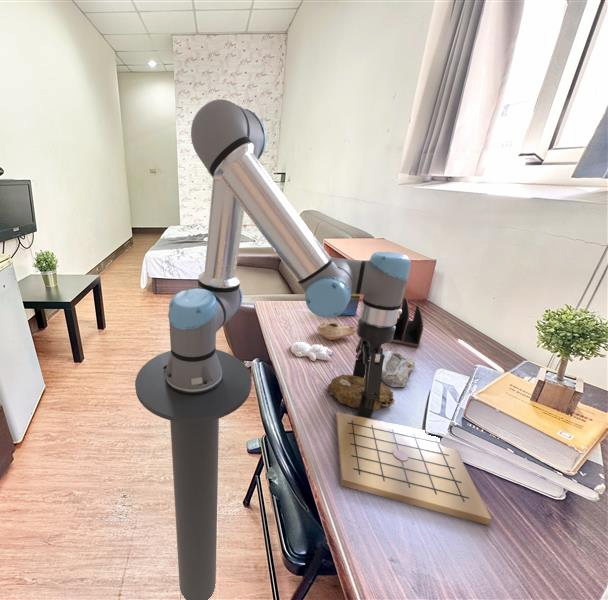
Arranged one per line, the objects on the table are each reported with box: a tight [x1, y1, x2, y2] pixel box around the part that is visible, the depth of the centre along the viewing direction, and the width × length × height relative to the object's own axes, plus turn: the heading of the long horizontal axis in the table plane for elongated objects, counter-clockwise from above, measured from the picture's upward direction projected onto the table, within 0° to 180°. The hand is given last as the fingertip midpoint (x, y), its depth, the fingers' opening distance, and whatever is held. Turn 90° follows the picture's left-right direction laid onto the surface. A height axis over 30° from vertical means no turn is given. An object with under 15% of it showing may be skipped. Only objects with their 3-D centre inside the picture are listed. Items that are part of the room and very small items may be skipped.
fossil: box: [381, 349, 416, 388], centre depth 88 cm, size 18×10×3 cm, turn 139°
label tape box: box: [338, 293, 361, 316], centre depth 123 cm, size 9×4×12 cm, turn 83°
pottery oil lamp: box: [317, 321, 357, 341], centre depth 105 cm, size 9×12×7 cm
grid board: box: [335, 411, 493, 526], centre depth 60 cm, size 22×18×2 cm
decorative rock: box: [327, 374, 395, 411], centre depth 77 cm, size 11×4×15 cm
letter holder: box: [390, 296, 424, 348], centre depth 108 cm, size 10×20×14 cm, turn 152°
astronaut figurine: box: [290, 341, 333, 362], centre depth 97 cm, size 9×12×3 cm
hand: (360, 397), depth 78 cm, fingers open, 13 cm apart
